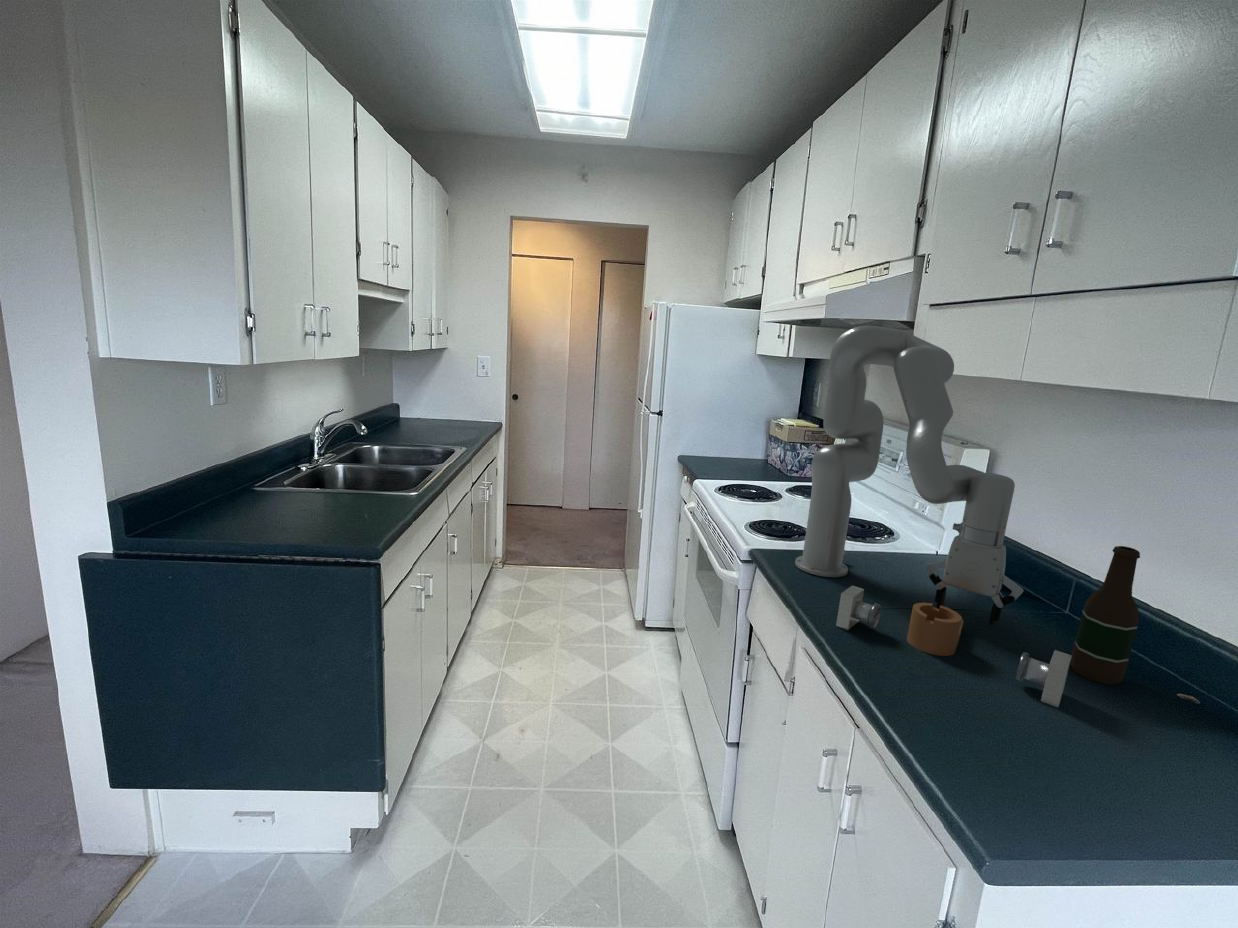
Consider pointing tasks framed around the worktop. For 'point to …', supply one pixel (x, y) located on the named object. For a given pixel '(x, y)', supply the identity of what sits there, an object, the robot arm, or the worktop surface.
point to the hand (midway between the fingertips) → (965, 614)
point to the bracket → (934, 629)
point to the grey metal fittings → (1028, 668)
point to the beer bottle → (1108, 623)
